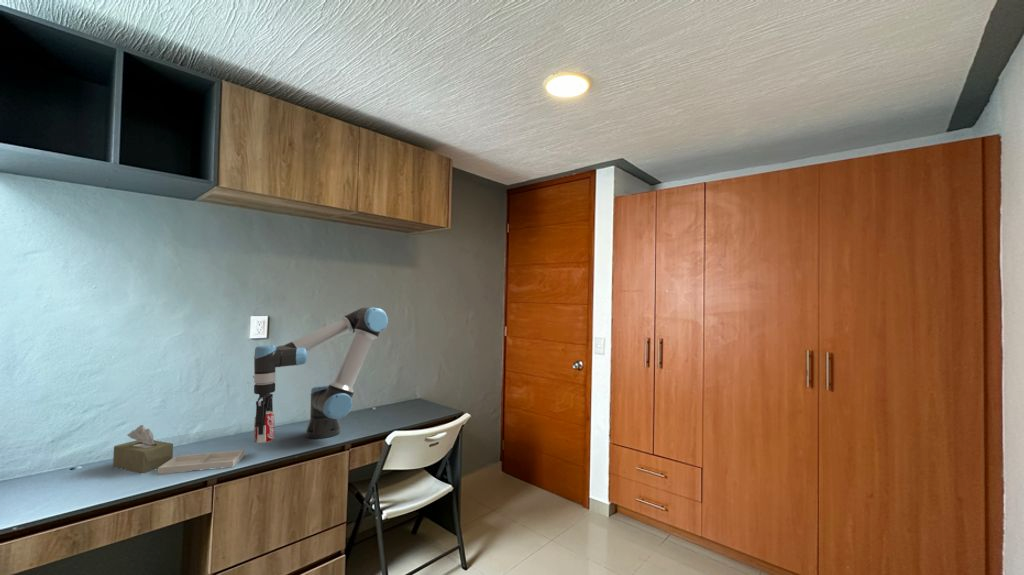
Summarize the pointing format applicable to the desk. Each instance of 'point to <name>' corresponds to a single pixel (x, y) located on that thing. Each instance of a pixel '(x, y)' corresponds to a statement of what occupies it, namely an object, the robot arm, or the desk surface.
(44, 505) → the desk surface
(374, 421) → the desk surface
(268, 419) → the soda can
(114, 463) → the tissue box
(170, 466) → the carrier tray
